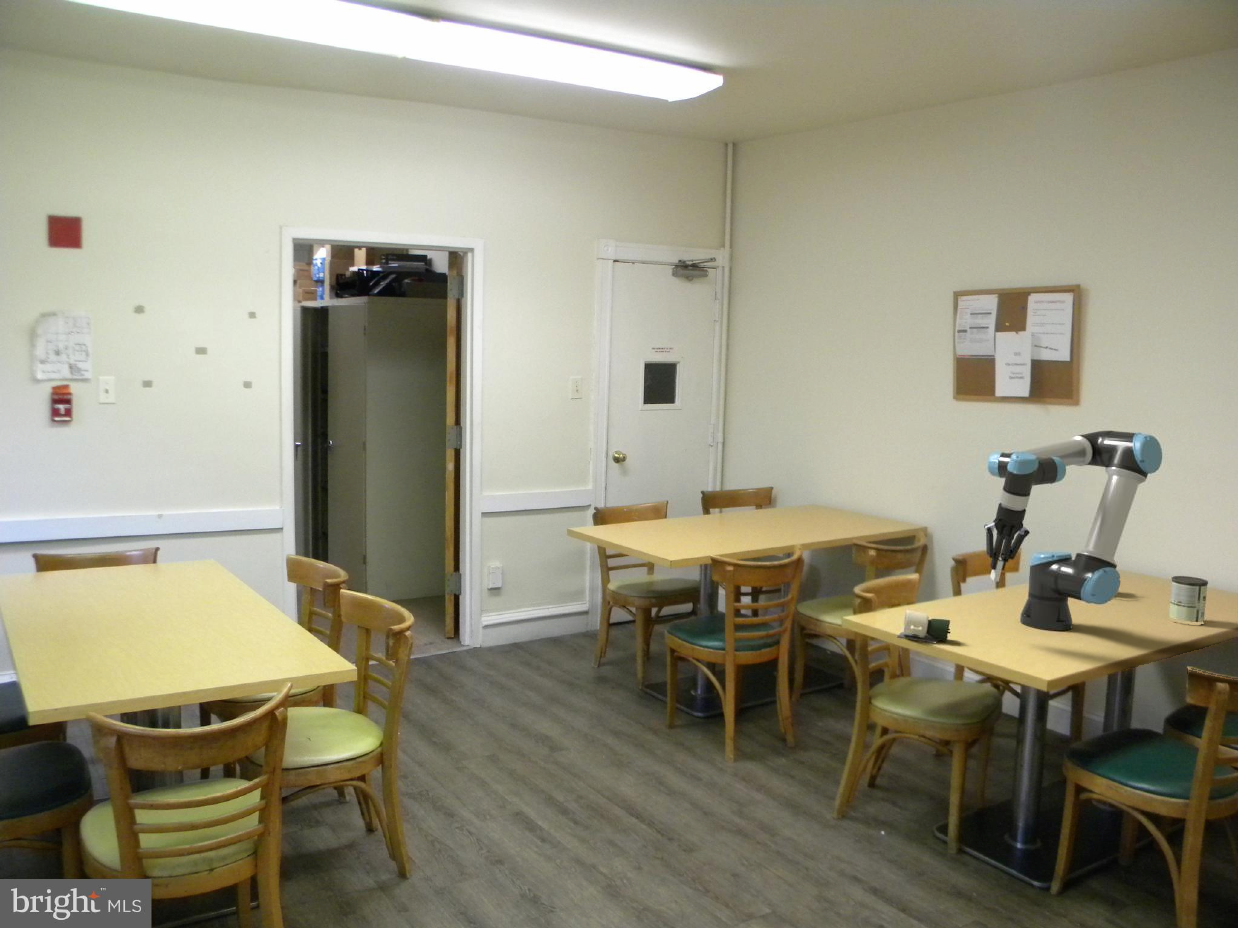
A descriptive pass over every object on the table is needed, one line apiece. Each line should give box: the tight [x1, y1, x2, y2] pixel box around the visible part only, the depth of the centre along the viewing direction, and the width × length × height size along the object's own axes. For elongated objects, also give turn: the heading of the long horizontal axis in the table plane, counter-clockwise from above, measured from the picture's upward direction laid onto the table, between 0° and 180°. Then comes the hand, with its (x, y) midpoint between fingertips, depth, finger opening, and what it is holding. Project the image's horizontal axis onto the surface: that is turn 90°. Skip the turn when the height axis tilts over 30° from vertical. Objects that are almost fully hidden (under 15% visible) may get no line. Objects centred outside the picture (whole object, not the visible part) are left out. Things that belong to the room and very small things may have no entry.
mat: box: [897, 630, 940, 643], centre depth 301 cm, size 11×16×1 cm
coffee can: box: [1168, 575, 1209, 622], centre depth 328 cm, size 10×10×14 cm
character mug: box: [902, 609, 951, 642], centre depth 295 cm, size 11×7×13 cm
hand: (994, 579), depth 297 cm, fingers closed
